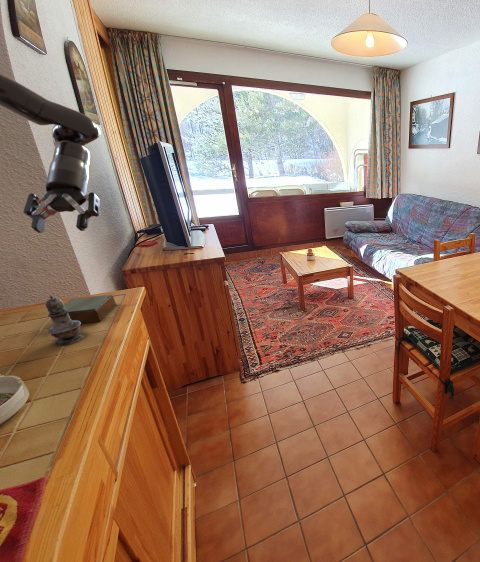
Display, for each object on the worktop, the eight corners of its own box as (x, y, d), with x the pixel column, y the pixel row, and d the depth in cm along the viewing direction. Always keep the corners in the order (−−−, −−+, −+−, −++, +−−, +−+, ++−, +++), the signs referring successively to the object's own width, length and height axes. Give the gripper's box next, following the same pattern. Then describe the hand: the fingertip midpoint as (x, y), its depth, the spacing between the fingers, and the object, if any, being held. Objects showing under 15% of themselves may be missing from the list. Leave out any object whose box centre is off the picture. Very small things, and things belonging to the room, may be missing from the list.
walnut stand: (54, 326, 81) (49, 314, 80) (75, 309, 90) (70, 298, 88) (100, 321, 84) (95, 309, 83) (116, 305, 93) (112, 293, 91)
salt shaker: (47, 344, 74) (25, 299, 69) (74, 331, 79) (55, 288, 75) (65, 347, 73) (44, 302, 68) (91, 334, 78) (74, 291, 73)
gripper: (23, 167, 77) (10, 223, 71) (92, 167, 81) (85, 220, 75) (45, 187, 84) (35, 239, 78) (108, 186, 87) (102, 236, 82)
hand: (59, 230), depth 77 cm, fingers open, 8 cm apart
